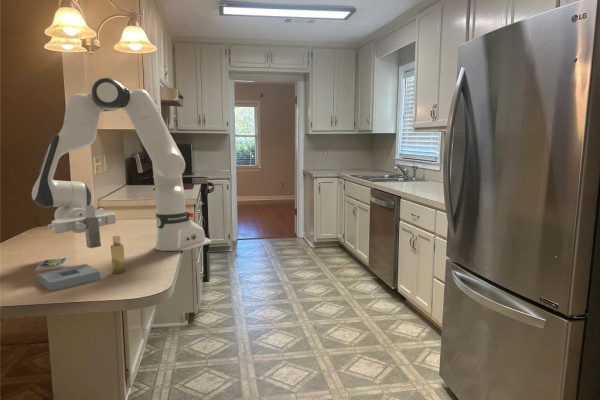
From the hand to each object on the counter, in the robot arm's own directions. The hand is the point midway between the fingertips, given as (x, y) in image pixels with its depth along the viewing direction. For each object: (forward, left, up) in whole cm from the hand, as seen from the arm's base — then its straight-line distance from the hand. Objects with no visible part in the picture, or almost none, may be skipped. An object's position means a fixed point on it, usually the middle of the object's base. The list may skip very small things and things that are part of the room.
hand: (92, 225), depth 142 cm
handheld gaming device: (+8, -18, -16) cm, 25 cm away
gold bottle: (-4, +10, -15) cm, 18 cm away
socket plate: (+10, +7, -15) cm, 20 cm away
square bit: (0, -1, -8) cm, 8 cm away
